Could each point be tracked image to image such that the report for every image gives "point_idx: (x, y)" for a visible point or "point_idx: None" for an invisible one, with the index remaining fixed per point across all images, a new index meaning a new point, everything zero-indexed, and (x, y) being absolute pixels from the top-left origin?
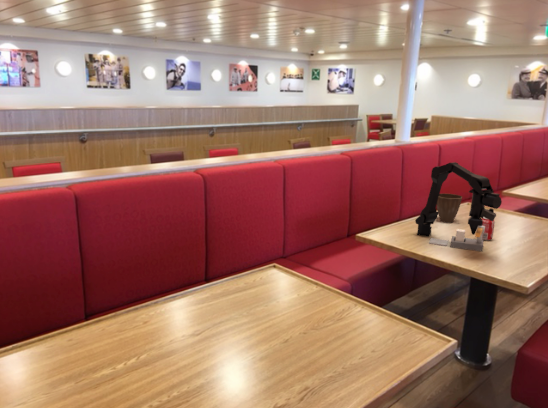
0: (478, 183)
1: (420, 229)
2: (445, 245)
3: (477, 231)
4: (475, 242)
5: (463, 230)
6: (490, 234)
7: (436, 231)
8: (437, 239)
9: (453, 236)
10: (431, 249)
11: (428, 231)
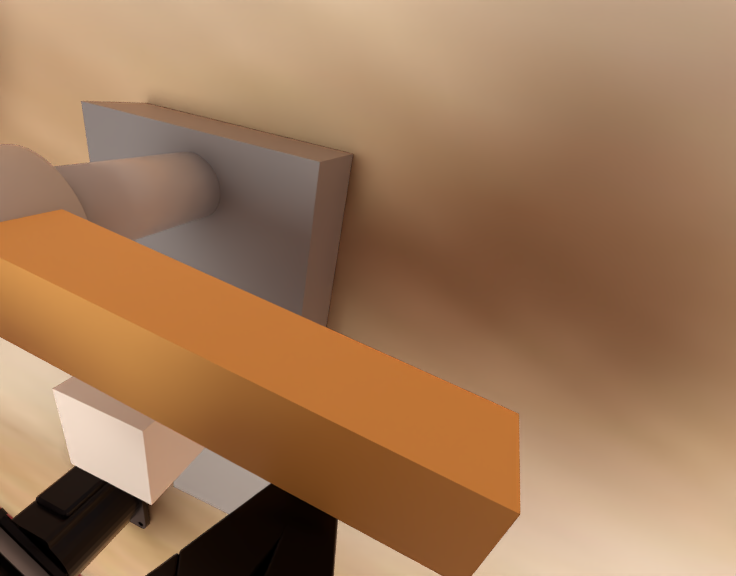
0: None
1: (104, 545)
2: None
3: (312, 483)
4: (217, 234)
5: (84, 418)
6: None
7: (13, 387)
8: None
9: None
10: (417, 571)
11: (99, 499)
